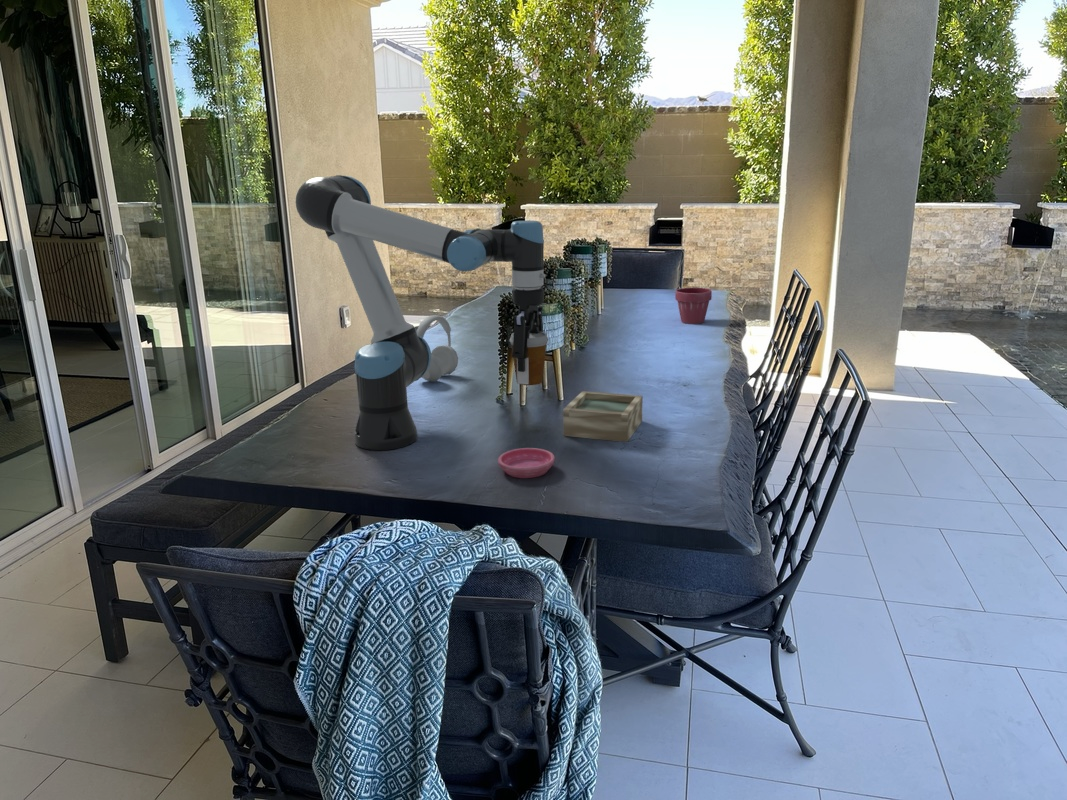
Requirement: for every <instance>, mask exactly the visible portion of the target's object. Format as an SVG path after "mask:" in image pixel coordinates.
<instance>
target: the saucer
mask: <svg viewBox="0 0 1067 800" xmlns="http://www.w3.org/2000/svg"><path fill="white" fill-rule="evenodd" d="M555 460H556V457H555V455H554V453H553V452H552V451H549V450H547V449H543V448H537V447H522V448H514V449H511V450H508V451H506V452H503V453H502V454H500V456H499V457H498V459H497V462H498V466H499V467H500V468H501V469H502V470H503V472H505V473H506V474H507V475H509V476H510V477H513V478H519V479H530V478H531V479H532V478H537V477H541V476H543V475H545V474H546V473H547V472H549V470H550V469H551V468H552V467H553V465H554V464H555V462H556V461H555Z"/></svg>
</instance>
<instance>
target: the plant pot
mask: <svg viewBox="0 0 1067 800" xmlns="http://www.w3.org/2000/svg"><path fill="white" fill-rule="evenodd" d="M712 292H713V291H712V289H710V288H706V287H682V288H678V289H676V290H675V293H674V294H675V295H674V296H675V297H674V298H675V301H677V305H678V306H677V307H678V313H679V317H680V322H681V323H683V324H688V325H698V324H699V325H700V324H703V323H705V321H706V316H707V314H708V313H707V312H708V308H709V303H710V301H711V300H712V298H713V297H712V294H713V293H712Z"/></svg>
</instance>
